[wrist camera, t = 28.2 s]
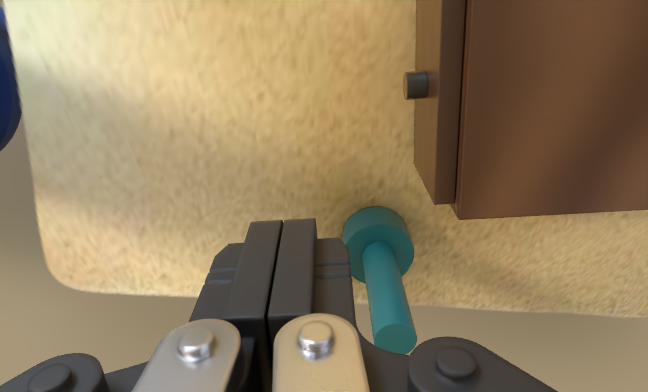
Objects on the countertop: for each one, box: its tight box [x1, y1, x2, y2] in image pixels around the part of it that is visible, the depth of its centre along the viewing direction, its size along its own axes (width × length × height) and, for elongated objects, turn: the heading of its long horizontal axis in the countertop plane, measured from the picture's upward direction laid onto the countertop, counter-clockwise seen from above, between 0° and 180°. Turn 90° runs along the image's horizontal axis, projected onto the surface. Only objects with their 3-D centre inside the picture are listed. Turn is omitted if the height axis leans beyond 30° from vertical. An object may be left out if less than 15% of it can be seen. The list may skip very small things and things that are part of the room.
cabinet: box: [450, 0, 648, 220], centre depth 28 cm, size 16×14×9 cm
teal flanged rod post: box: [342, 207, 417, 355], centre depth 32 cm, size 5×5×12 cm
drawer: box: [403, 0, 467, 205], centre depth 28 cm, size 16×13×7 cm
